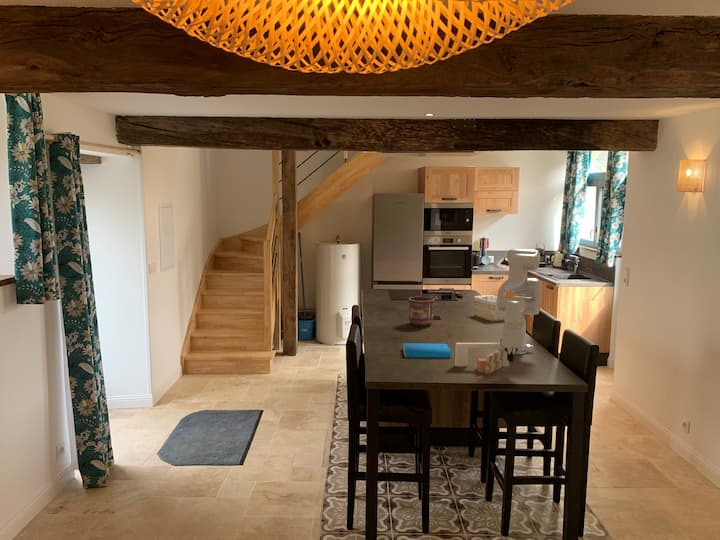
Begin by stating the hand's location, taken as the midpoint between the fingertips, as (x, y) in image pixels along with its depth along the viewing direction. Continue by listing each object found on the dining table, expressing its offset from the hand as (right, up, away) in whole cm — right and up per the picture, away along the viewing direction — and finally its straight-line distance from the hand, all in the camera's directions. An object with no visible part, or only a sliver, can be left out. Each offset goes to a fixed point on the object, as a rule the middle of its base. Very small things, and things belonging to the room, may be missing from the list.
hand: (510, 361), depth 287 cm
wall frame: (-11, -5, +14) cm, 18 cm away
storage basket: (+20, +11, +129) cm, 131 cm away
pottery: (-33, +8, +105) cm, 111 cm away
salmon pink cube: (-12, -6, +6) cm, 15 cm away
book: (-38, -2, +36) cm, 52 cm away
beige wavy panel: (-7, -6, +6) cm, 11 cm away
